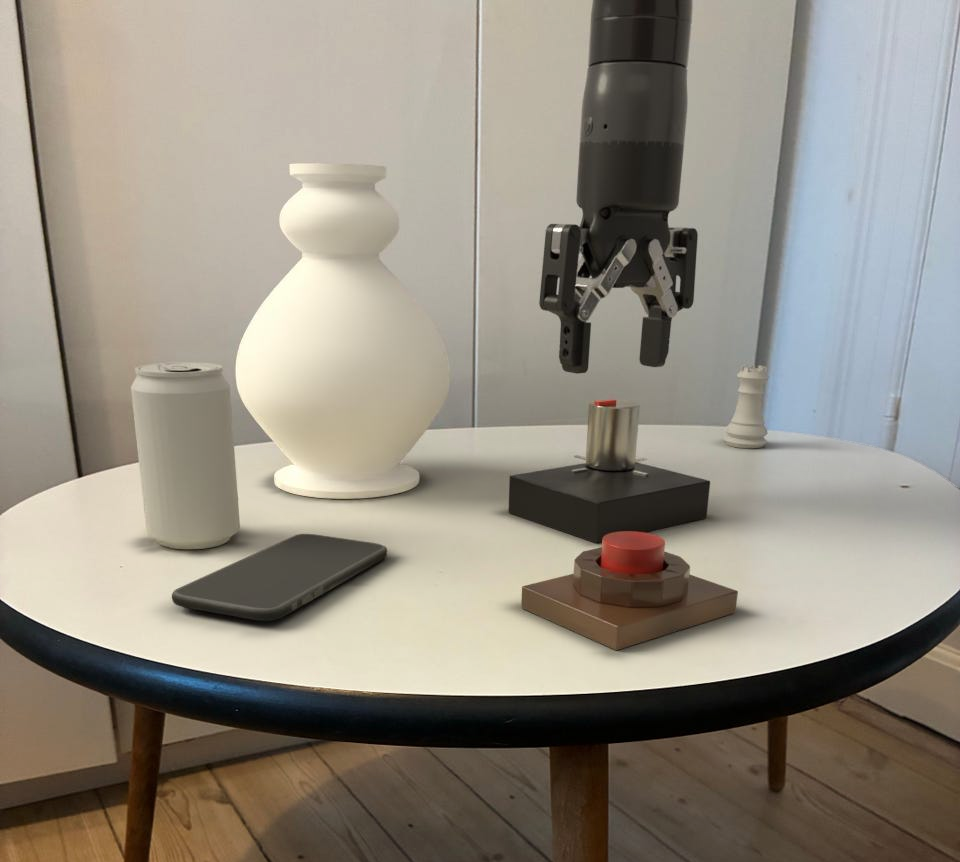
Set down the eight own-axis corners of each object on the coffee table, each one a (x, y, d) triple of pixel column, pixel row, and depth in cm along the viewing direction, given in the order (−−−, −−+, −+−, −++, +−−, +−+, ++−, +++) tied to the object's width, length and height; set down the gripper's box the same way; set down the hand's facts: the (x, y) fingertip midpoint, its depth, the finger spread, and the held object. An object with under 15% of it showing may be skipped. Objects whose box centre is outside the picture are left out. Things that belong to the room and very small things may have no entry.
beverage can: (167, 558, 68) (148, 374, 64) (134, 535, 73) (115, 362, 69) (255, 543, 72) (244, 368, 67) (219, 522, 77) (206, 357, 72)
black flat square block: (608, 485, 90) (610, 449, 88) (716, 516, 81) (720, 476, 80) (491, 507, 82) (492, 468, 81) (596, 543, 73) (599, 500, 72)
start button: (631, 555, 62) (633, 527, 61) (675, 570, 60) (678, 542, 59) (587, 565, 60) (589, 537, 59) (632, 582, 57) (634, 552, 57)
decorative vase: (233, 464, 94) (211, 166, 85) (419, 454, 100) (418, 173, 90) (256, 513, 79) (233, 156, 69) (475, 499, 84) (482, 165, 75)
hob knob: (610, 458, 86) (614, 393, 84) (645, 467, 83) (650, 400, 81) (575, 464, 83) (578, 398, 81) (609, 473, 81) (614, 405, 79)
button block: (638, 577, 67) (641, 532, 65) (735, 612, 61) (741, 564, 60) (520, 608, 61) (522, 559, 60) (616, 650, 55) (620, 598, 54)
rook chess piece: (720, 446, 106) (729, 367, 103) (725, 439, 110) (733, 362, 107) (765, 450, 105) (775, 370, 102) (768, 442, 109) (777, 365, 106)
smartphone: (393, 544, 69) (272, 612, 56) (393, 557, 70) (273, 628, 57) (298, 531, 72) (162, 593, 59) (299, 544, 72) (163, 608, 59)
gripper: (597, 130, 67) (581, 382, 73) (736, 144, 75) (711, 369, 82) (523, 134, 73) (514, 369, 79) (660, 147, 81) (642, 358, 87)
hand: (614, 369), depth 80 cm, fingers open, 8 cm apart
